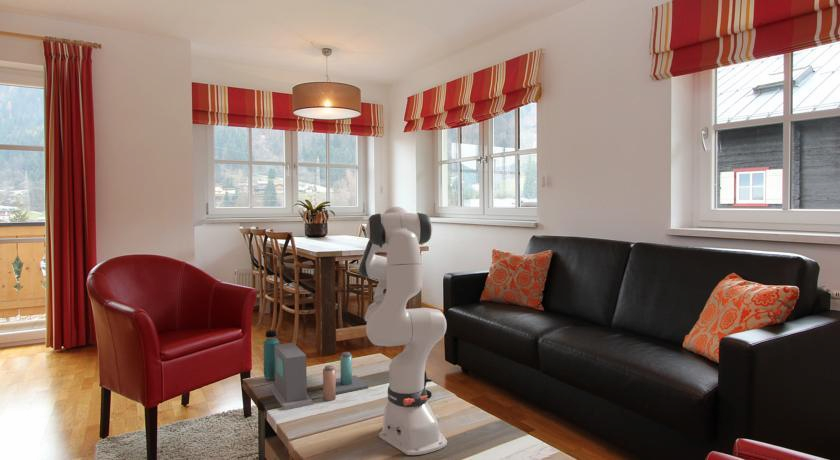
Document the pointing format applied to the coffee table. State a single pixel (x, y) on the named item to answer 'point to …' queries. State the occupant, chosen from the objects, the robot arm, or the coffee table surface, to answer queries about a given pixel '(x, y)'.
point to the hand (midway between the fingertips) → (376, 327)
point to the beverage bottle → (270, 354)
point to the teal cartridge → (346, 368)
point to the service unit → (290, 377)
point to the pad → (356, 385)
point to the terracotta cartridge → (329, 383)
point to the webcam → (425, 385)
